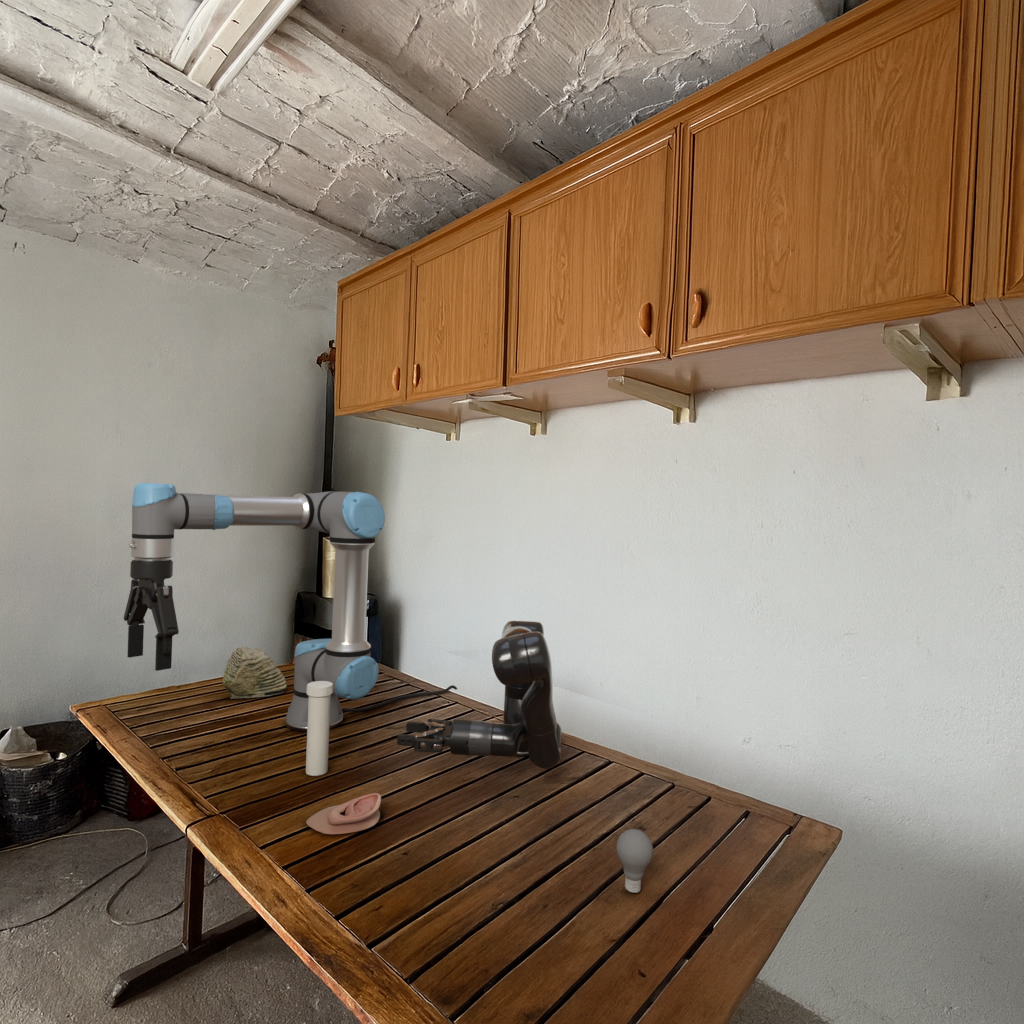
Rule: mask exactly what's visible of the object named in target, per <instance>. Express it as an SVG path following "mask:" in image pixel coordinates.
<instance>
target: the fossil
mask: <svg viewBox="0 0 1024 1024" xmlns="http://www.w3.org/2000/svg"><path fill="white" fill-rule="evenodd" d="M222 676H223V677H222V685H223V687H224V688H225V690H226V691H228V693H229V698H230V699H250V698H264V697H271V696H275V695H281V694H284V693H285V691H286V689H287V687H288V686H287V680H286V678H285V676H284V674H283V673H282V672H281V669H279V668H278V667H277V665H276V663H275V662H274V660H273V659H272V658H271V657H270V656H269V655H268V654H267V653H266V652H265V650H264V649H263V648H260V647H258V648H251V647H247V646H246V647H245V646H238V647H237V648H236V649H235V650H233V651H232V653H231V656H230V657H229V659H228V660H227V663H226V666H225V668H224V671H223V675H222Z"/></svg>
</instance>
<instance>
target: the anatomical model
mask: <svg viewBox="0 0 1024 1024" xmlns="http://www.w3.org/2000/svg"><path fill="white" fill-rule="evenodd" d="M381 803H382V796H381V794H380V793H379V792H373V793H368V794H364V795H362V796H358V797H356V798H353V799H351V800H348V801H346V802H343V803H340V804H338V805H332V806H328V807H325V808H323V809H321V810H319V811H317V812H315V813H313V814H312V815H311V816H310V817H308V818H307V819H306V821H305V824H306V825H307V826H308V827H309V828H311V829H312V830H314V831H316V832H319V833H321V834H323V835H343V834H351V833H356V832H362V831H365V830H367V829H369V828H370V829H371V828H372V827H374V826H375V825H376V824H377V823H379V821H380V818H381V812H380V810H379V809H380V807H381Z"/></svg>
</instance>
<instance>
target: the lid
mask: <svg viewBox="0 0 1024 1024" xmlns="http://www.w3.org/2000/svg"><path fill="white" fill-rule="evenodd" d="M332 693H333V683H331V682H328V681H315V682H311V683H308V684H307V695H308V696H312V697H325V696H329V695H331V694H332Z"/></svg>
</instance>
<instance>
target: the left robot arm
mask: <svg viewBox="0 0 1024 1024" xmlns="http://www.w3.org/2000/svg"><path fill="white" fill-rule="evenodd" d="M385 515H386V513H385V511H384V508H383V505H382V503H381V502H380V501H379V500H378V498H377V497H375V495H373V494H370V493H367V492H363V491H362V492H361V491H337V490H336V491H335V490H333V491H332V490H330V491H321V492H311V493H295V494H294V495H293V496H276V495H275V496H274V495H273V496H272V495H248V494H247V495H246V494H244V495H243V494H220V493H219V494H218V493H217V494H216V493H215V494H214V493H189V492H187V493H186V492H177V491H176V486H175V485H174V484H173V483H152V482H139V483H137V484H136V485H135V486H134V488H133V492H132V501H131V520H132V521H131V542H130V543H128V547H129V548H130V549H131V550H130V556H131V558H133V559H132V560H131V561H130V567H129V568H130V571H129V574H130V575H129V576H130V578H131V581H130V590H129V594H128V598H127V603H126V607H125V610H124V615H123V621H124V622H126V624H127V626H128V629H127V630H128V631H127V658H135V657H142V656H144V635H145V634H144V630H145V625H144V624H145V623H146V621H145V619H144V618H145V616H146V615H147V612H148V609H149V610H151V613H152V618H153V620H154V624H155V627H156V631H157V633H156V635H155V636H154V638H155V661H154V663H155V665H154V668H155V669H154V670H155V671H157V672H159V671H164V670H169V669H172V659H173V657H172V655H173V637H175V636H176V635H179V632H180V631H179V625H178V619H177V615H176V614H177V613H176V609H175V603H174V597H173V595H174V593H173V585H165V580H167V579H171V578H172V577H173V575H174V573H173V572H174V561H173V560H172V559H171V558H173V557H174V554H175V553H174V552H175V530H213V531H215V530H224V529H228V528H230V526H233V527H234V526H237V527H238V526H240V527H243V526H246V527H247V526H249V527H250V526H258V527H259V526H268V527H269V526H276V527H277V526H282V527H284V526H285V527H286V526H287V527H288V526H289V527H290V526H291V527H293V528H294V529H296V530H308V531H309V530H310V531H316V532H319V533H325V534H329V544H330V545H331V546H332V547H333V548H334V550H335V551H334V572H333V573H334V577H333V599H332V625H331V626H332V627H331V638H317V639H308V640H304V641H300V642H299V643H297V645H296V646H295V650H294V655H293V657H294V672H293V673H294V674H293V695H292V696H293V697H292V699H291V702H290V704H289V707H288V709H287V713H286V715H285V726H286V728H287V729H289V730H291V731H294V732H295V731H296V732H301V733H307V723H308V697H309V696H308V695H307V684H308V683H311V682H315V681H328V682H331V683H333V693H332V694H331V697H330V723H329V730H332V729H335V728H337V727H339V726H340V725H342V723H343V722H344V714H343V712H344V713H346V712H347V713H348V712H349V713H358V712H359V713H360V712H366V711H369V710H373V709H377V708H380V707H382V706H386V705H388V704H392V703H393V702H396V701H399V700H400V701H401V700H403V699H409V698H415V697H421V696H422V697H423V696H431V695H440V694H445V693H447V692H449V691H450V690H451V689H454V690H458V687H457V686H456V685H454V684H452V685H450V686H448V687H446V688H445V689H442V690H433V691H423V692H416V693H411V694H410V693H409V694H405V695H400V696H396V697H392V698H390V699H388V700H385V701H383V702H380V703H376V704H373V705H369V706H366V707H360V708H347V707H346V708H344V707H343V708H342V706H341V702H340V699H339V698H341V699H342V700H343V699H344V700H348V701H349V700H350V701H357V700H360V699H362V698H364V697H365V696H367V695H368V694H370V692H371V690H372V689H374V687H375V685H376V683H377V682H378V678H379V674H380V672H379V671H380V670H379V669H380V668H379V665H378V663H377V662H376V660H375V659H374V657H371V652H372V649H371V648H372V644H371V643H370V642H368V640H367V639H366V631H367V607H368V606H367V605H368V604H367V602H368V582H369V581H368V579H369V555H370V553H369V552H370V550H371V548H372V547H374V545H375V544H376V536H378V535H379V534H380V533H381V530H383V528H384V526H385V522H386V521H385V520H386V516H385Z"/></svg>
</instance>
